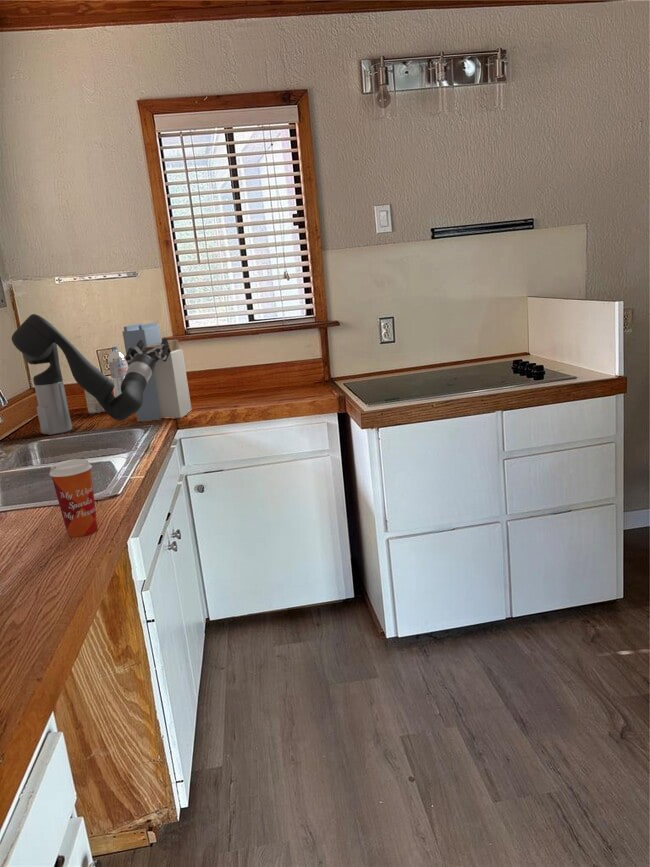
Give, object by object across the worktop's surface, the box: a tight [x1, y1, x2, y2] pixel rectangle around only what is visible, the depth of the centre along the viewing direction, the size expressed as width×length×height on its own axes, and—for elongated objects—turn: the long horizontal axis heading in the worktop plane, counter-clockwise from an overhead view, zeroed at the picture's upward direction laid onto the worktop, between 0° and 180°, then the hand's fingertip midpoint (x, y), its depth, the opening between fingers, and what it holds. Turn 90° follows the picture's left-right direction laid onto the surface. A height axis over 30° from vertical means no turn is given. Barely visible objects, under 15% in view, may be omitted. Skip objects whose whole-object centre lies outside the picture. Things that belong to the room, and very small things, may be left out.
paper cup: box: [49, 458, 99, 538], centre depth 124 cm, size 8×8×14 cm
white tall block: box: [153, 348, 193, 419], centre depth 229 cm, size 11×8×23 cm
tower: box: [122, 321, 163, 422], centre depth 228 cm, size 13×8×34 cm, turn 171°
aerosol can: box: [83, 361, 106, 415], centre depth 251 cm, size 7×7×20 cm
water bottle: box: [107, 346, 128, 397], centre depth 250 cm, size 7×7×25 cm
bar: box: [144, 339, 180, 354], centre depth 223 cm, size 21×4×4 cm, turn 171°
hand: (153, 341), depth 216 cm, fingers open, 8 cm apart
